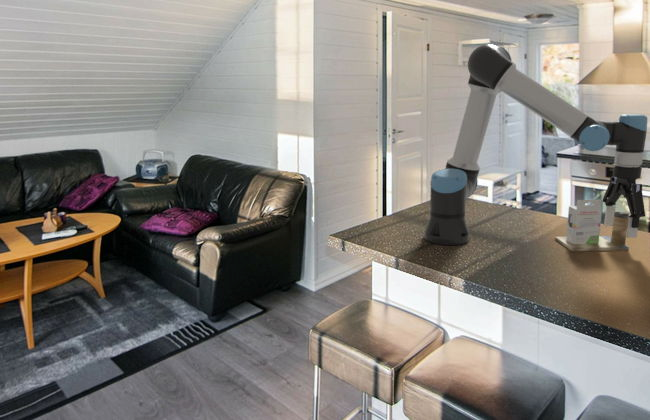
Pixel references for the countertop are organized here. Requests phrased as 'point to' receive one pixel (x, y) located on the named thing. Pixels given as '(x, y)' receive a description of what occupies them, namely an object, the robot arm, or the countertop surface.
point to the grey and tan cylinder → (619, 228)
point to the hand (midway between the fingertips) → (619, 231)
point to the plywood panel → (592, 245)
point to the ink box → (584, 222)
